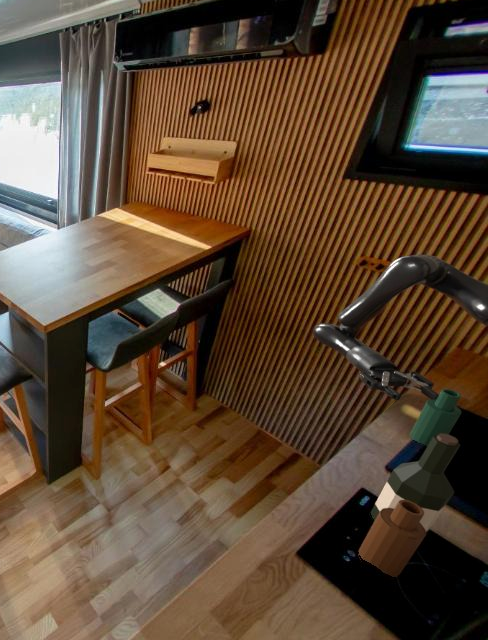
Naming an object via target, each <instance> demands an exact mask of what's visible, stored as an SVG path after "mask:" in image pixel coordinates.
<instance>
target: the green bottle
mask: <svg viewBox="0 0 488 640" xmlns="http://www.w3.org/2000/svg"><path fill="white" fill-rule="evenodd" d="M461 398H462V394H461V393H460V392H458V391H457V390H454V389H450V388H442V389H441V390H440V393H439V396H438V398H437V400H436V399H430V398H429V399H428V400H426V402H425V404H424V405H423V407H422V410H421V412H420V414H419V415H418V417H417V419H416V421H415V423H414V425H413V427H412V428H411V431H410V432H409V438H410V439H411V440H412V441H413V440H415V441H417V442H418V443H422V444H424V445H426V446H428V445H429V443H430V441H431V439H432V438H433V436H435V435H436V434H440V433H443V434H448V435H450V433H451V432H452V429H453V428H454V427H455V424H456V423H457V422H458V419H459V418H460V416H461V414H462V410H461V408H460V407H458V406H457V404H458V403H459V401H460V399H461ZM415 441H414V442H415ZM418 443H417V444H418Z"/></svg>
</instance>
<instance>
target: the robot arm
mask: <svg viewBox="0 0 488 640" xmlns="http://www.w3.org/2000/svg"><path fill="white" fill-rule="evenodd" d="M415 285H423V286H424V287H427V288H429V289H432V290H434V291H436V292H438V293H440V294H442V295H444V296H446V297H448V298H450V299H451V300H452V301H454V302H455V303H456V304H457V305H458V306H459V307H460V308H461V309H462V310H463V311H464V312H465V313H466V314H467V315H469V316H470V317H471V318H473V319H474V320H475V321H477V322H479V323H480V324H481V325H483V326H485V327H487V328H488V283H485V282H483V281H481V280H478V279H476V278H474V277H473V276H470V275H469V274H467V273H465V272H464V271H462V270H460V269H458V268H456V267H455V266H453V265H451V264H450V263H448V262H446V260H443V259H441V258H439V257H437V256H434V255H430V254H412V255H404V256H401V257H398V258H396V259H395V260H393V261H392V262H391V263H390V264H388V266H387V267H386V268H385V269H384V271H382V273H381V274H380V276H378V278H377V279H376V280H375V281H374V282H373V283H372V284H371V285H370V286H369V288H367V289H366V291H364V292H363V293H362V294H361V295H360V296H359V297H358V298H356V299H355V300H354V301H353V302H351V303H350V304H349V305H347V306H346V307H345V308H344V309H342V310H341V311H340V312H339V313H338V314H337V315H336V319H337V321H338V322H339V325H338V324H333V323H329V322H320V323H317V324H315V325H314V326H313V327H312V328H313V329H312V335H313V336H314V338H315V339H316V340H317V341H318V342H319V343H320V344H323V345H325V346H326V347H328V348H330V349H332V350H334V351H336V352H337V353H339V354H340V355H341V356H342V357H344V358H345V359H346V360H347V361H348V362H349V363H350V364H351V365H352V366H354V367H355V368H356V369H357V370H358V371H360V373H359V375H358V380H360V381H361V382H362V383H363V384H364V385H366V386H367V388H368V389H370V390H371V391H376V390H378V391H380V392H382V393H384V394H385V395H387V396H388V397H389V398H390V399H393V400H394V401H400V399H401V398H402V395H401V393H399V392H398V391H396V389H395V388H393V387H404V388H406V389H408V390H414V391H415V390H416V391H419V392H421V394H423V395H424V396H425V397H427V398H428V399H429V400H430V399H436V400H437V398H438V396H439V395H440V393H438V392H436V391H435V390H434V389H433V387H434V386H435V383H434V382H433V381H431V380H430V379H428V378H426V377H425V376H423V375H422V374H420V373H418V372H417V371H415V370H412V371H411V372H410V373H405V372H403V371H401V370H400V369H399V368H398V367H397V365H396V364H395V363H394V362H392V360H390V359H388V358H387V357H385V356H384V355H383V354H382V353H380V352H379V351H377V350H375V349H373V348H371V347H370V346H368V345H367V344H366V343H364V342H363V341H361V340H360V339H358V338H357V336H358V335H359V333H360V332H361V330H362V329H363V327H364V326H366V325H367V324H369V323H370V322H371V321H373V320H374V319H375V318H376V317H378V316H379V315H380V314H381V313H382V312H383V310H384V309H386V307H387V305H388V304H389V303H390V302H391V301H392V300H393V299H394V298H395V297H396V296H398V295H399V294H401V293H402V292H404V291H406V290H408V289H409V288H411V287H413V286H415ZM408 381H409V382H410V383H409V384H408V383H407V382H408ZM417 385H418V386H417Z"/></svg>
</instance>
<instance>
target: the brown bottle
mask: <svg viewBox="0 0 488 640" xmlns="http://www.w3.org/2000/svg"><path fill="white" fill-rule="evenodd" d="M423 516H424V511H423V509H422V508H421V507H420V506H418V505H417V504H415V503H413V502H411V501H409V500H399V502H398V503H397V505H396V507H395V509H393V508H383V509H382V510H381V511H380V512H379V514H378V516H377V518H376V519H375V521H373V523H372V525H371V527H370V528H369V530H368V532H367V534H366V536H365V537H364V539H363V541H362V543H361V545H360V547H359V549H358V552H359V554H358V556H359V555H360V556H361V558H362V559H363V560H365V561H367V562H369V563H371V564H372V565H374V566H376V567H377V568H378V569H380V570H381V571H382V572H383V573H385V574H388V575H390V576H392V577H396V578H398V577H399V576H400V575H401V573H402V571H403V570H404V569H405V568H406V565H408V563H409V561H410V559H411V558H412V557H413V555H414V553H416V551H417V549H418V548H419V546H420V545H421V543H422V541H423V540H424V539H425V537H426V536H427V534H426V531H425V528H424V527H423V526H422V524H421V523H420V520H421V519H422V517H423ZM398 575H399V576H398ZM397 576H398V577H397Z"/></svg>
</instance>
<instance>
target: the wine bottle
mask: <svg viewBox="0 0 488 640" xmlns="http://www.w3.org/2000/svg"><path fill="white" fill-rule="evenodd" d="M460 447H461V444H460V443H459V439H457V437H455V436H452V434H451V435H450V434H449V435H448V434H443V433H440V434H436V435H435V436H433V438H432V439H431V441H430V443H429V445H428V446H427V447H425V450H424V451H423V453H422V455H421V457H420V458H419V460H418V461H417V460H416V461H410V462H404V463H403V462H402V463H401V464H399V465H397V466H396V467H395V468H394V469H393V470H392V471H391V474H390V475H389V477H388V479H387V481H386V482H385V484H384V486H383V488H382V490H381V492H380V494H379V495H378V498H377V500H376V501H375V503H374V505H373V507H372V509H371V511H370V513H371V515H372V518H373V519H374V521H375V519H376V518H377V516H378V514H379V512H380V511H381V510H382V509H383V508H393V509H395V507H396V505H397V503H398V502H399V500H409V501H411V502H413V503H415V504H417V505H418V506H420V507H421V508H422V509H423V511H424V516H423V517H422V519H421V520H420V523H421V524H422V526H423V527H424V528H425V531H426V535H427V534H428V533H429V531H430V529H432V527H433V525H434V524H435V522H436V521H437V519H438V517H439V516H440V515H441V513H442V512H443V510H444V509H445V508H446V506H447V505H448V503H449V502H450V500H451V498H452V497H453V495H454V494H455V490H454V488H453V487H452V485H451V483H450V481H449V480H448V477H447V476H446V473H445V471H446V469H447V467H448V466H449V465H450V463H451V461H452V460H453V458H454V457H455V455H456V453H457V452H458V450H459V449H460ZM372 518H371V519H372ZM373 519H372V520H373ZM374 521H373V522H374Z"/></svg>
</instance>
